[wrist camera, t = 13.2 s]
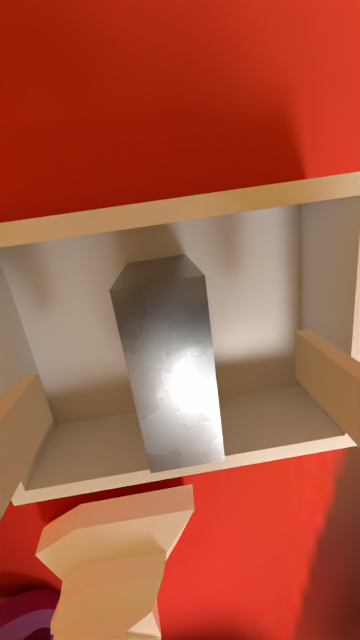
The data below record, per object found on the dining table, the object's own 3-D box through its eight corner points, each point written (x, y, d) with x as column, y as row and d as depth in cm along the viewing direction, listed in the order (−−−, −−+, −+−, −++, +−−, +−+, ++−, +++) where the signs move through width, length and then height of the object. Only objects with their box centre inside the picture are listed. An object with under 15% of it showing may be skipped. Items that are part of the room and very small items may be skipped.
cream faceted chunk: (209, 514, 31) (238, 746, 20) (79, 533, 32) (32, 764, 21) (189, 453, 24) (215, 759, 13) (23, 479, 25) (-96, 785, 14)
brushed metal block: (201, 381, 23) (225, 460, 15) (152, 389, 23) (150, 473, 15) (185, 254, 19) (205, 275, 12) (127, 263, 19) (109, 290, 12)
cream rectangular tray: (305, 385, 25) (359, 445, 18) (52, 428, 24) (13, 505, 18) (308, 185, 20) (385, 167, 13) (-17, 232, 19) (-110, 238, 12)
